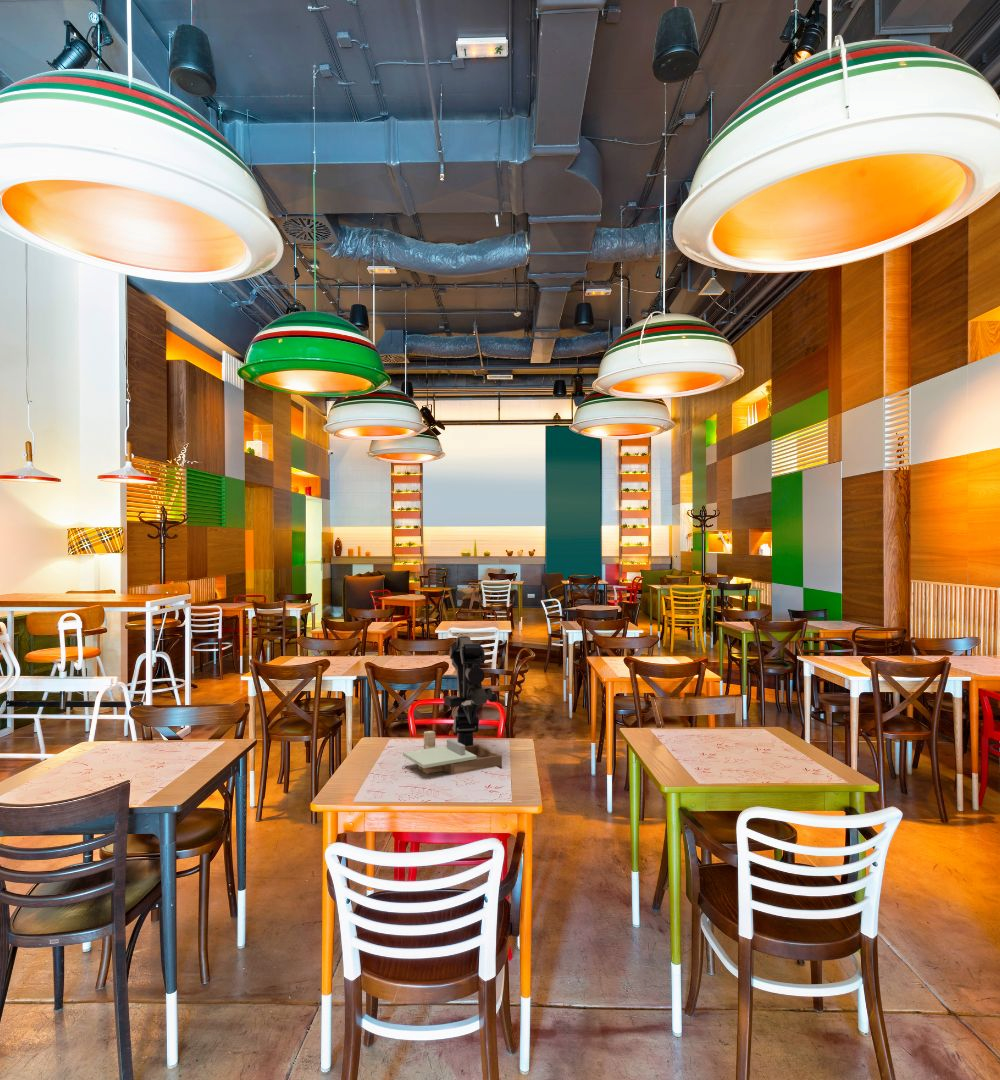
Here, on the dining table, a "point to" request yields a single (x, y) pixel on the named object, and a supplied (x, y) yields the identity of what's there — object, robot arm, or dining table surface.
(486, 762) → the wooden box tray
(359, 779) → the dining table surface
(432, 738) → the brown wooden block
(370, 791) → the dining table surface
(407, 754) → the lid
